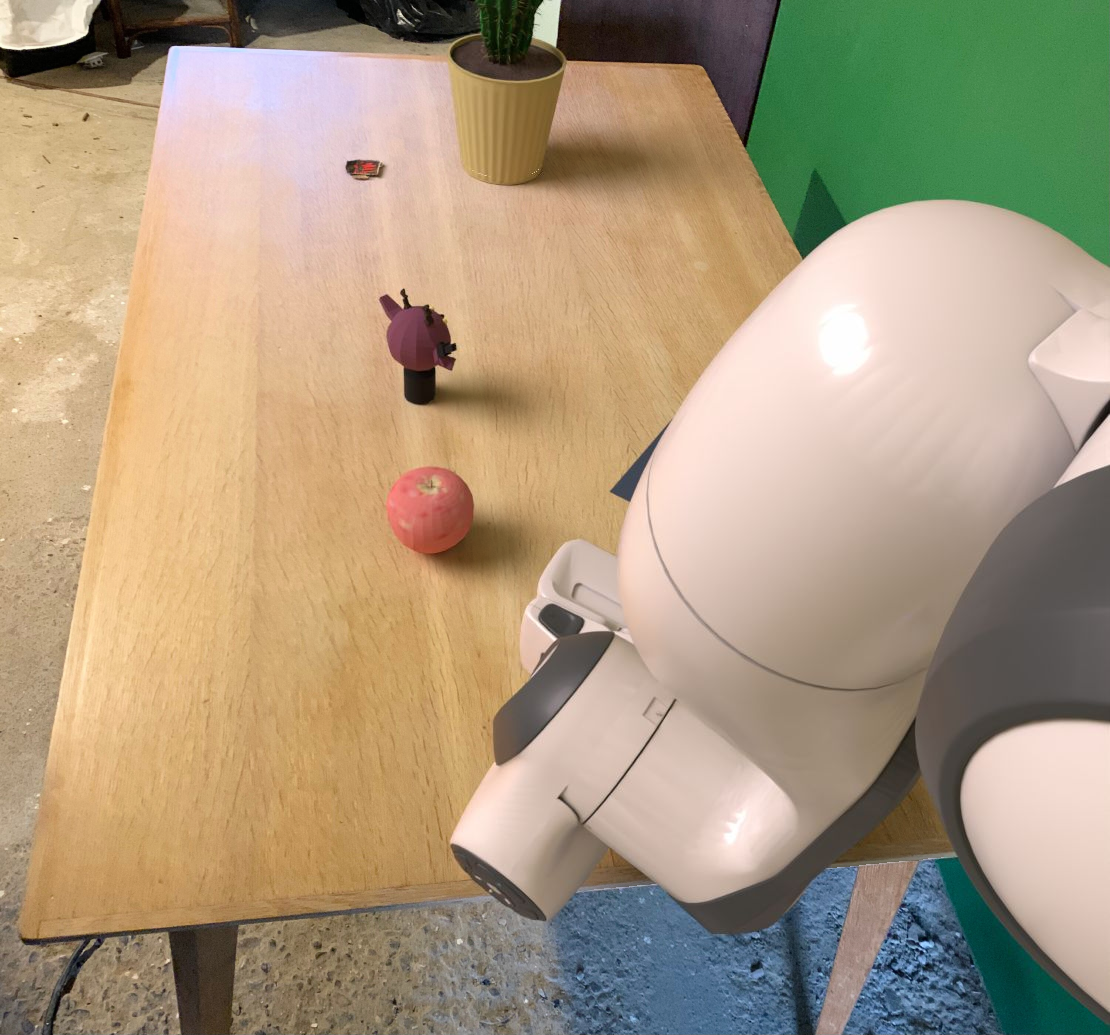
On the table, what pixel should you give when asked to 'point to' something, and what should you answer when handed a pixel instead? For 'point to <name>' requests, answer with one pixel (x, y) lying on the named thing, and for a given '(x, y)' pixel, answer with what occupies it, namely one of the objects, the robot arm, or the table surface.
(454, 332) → the table surface
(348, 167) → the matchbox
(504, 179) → the potted cactus
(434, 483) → the apple
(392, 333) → the figurine
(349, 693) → the table surface
